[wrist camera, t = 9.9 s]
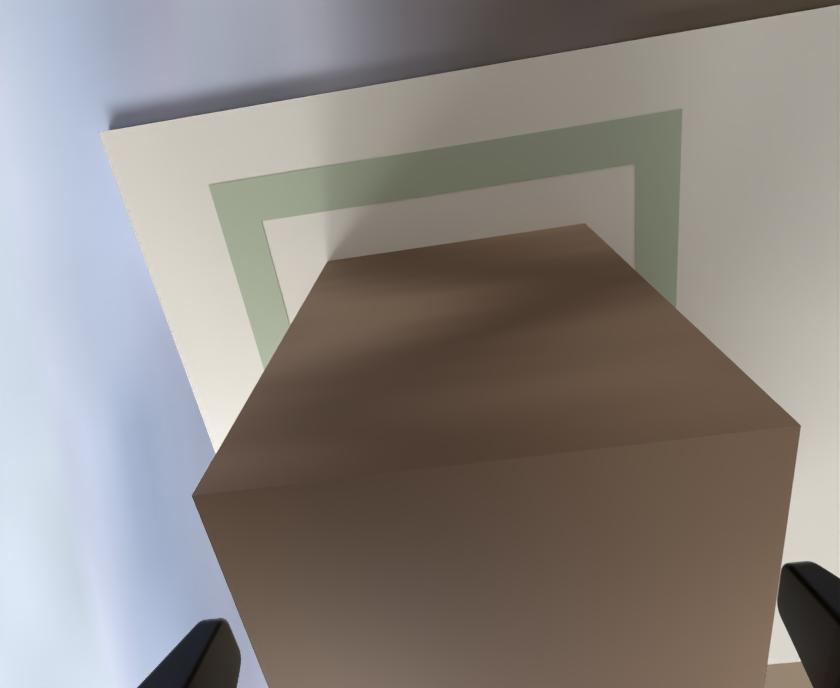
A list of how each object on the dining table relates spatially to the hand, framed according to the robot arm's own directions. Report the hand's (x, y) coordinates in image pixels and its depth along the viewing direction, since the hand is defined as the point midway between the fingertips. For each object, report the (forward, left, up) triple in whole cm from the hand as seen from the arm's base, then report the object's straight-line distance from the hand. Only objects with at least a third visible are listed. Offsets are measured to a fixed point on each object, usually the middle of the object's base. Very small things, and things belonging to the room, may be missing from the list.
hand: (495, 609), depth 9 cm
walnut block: (0, 0, -4) cm, 4 cm away
